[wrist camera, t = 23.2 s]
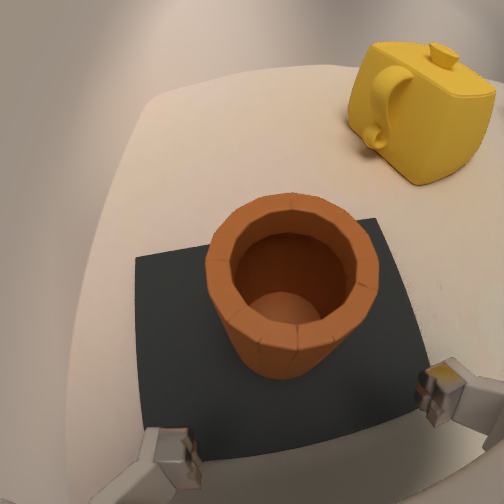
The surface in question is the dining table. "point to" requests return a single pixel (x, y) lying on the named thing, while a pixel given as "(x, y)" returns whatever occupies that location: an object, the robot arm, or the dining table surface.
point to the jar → (290, 281)
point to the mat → (256, 386)
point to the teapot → (420, 108)
